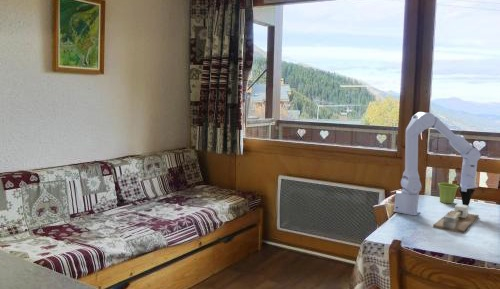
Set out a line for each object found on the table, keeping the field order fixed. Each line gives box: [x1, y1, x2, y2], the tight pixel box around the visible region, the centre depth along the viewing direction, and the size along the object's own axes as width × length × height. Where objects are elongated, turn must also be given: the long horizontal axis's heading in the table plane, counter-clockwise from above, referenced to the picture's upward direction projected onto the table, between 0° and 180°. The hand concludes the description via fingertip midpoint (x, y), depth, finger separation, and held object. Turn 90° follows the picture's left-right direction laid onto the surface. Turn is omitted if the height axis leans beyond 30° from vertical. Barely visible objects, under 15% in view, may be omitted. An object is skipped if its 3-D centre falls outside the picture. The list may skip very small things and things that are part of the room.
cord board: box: [432, 210, 479, 234], centre depth 190 cm, size 11×30×5 cm, turn 144°
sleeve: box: [453, 203, 470, 218], centre depth 196 cm, size 4×5×4 cm
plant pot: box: [437, 182, 460, 205], centre depth 225 cm, size 9×9×9 cm
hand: (465, 205), depth 202 cm, fingers closed
